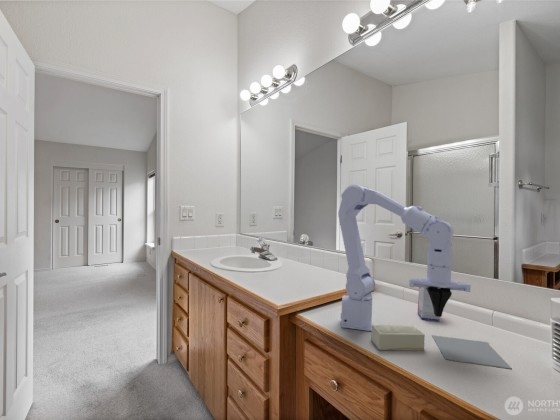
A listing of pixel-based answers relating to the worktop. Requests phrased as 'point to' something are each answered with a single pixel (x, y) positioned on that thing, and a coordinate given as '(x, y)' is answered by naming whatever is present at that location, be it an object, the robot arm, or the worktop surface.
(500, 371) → the worktop surface
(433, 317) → the supplement box
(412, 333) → the skincare box
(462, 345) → the rubber mat
